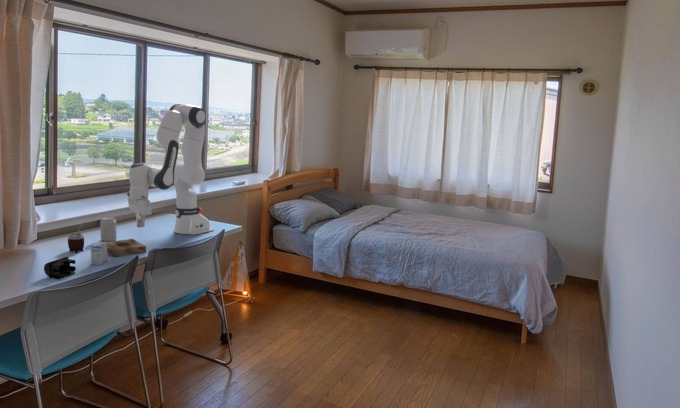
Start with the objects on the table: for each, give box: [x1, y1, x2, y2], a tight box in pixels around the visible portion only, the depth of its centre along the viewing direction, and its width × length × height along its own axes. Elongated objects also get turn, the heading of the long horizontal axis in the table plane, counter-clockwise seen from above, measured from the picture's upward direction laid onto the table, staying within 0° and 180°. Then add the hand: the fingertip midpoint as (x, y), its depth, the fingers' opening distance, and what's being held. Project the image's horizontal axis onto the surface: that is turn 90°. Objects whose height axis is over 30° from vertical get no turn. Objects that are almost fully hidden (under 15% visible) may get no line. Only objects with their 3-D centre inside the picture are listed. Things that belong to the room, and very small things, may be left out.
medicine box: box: [90, 241, 108, 266], centre depth 239 cm, size 8×4×9 cm, turn 5°
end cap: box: [43, 256, 76, 280], centre depth 220 cm, size 10×7×7 cm
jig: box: [107, 238, 147, 258], centre depth 260 cm, size 16×16×3 cm
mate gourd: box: [67, 222, 86, 254], centre depth 253 cm, size 8×8×15 cm
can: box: [99, 216, 118, 242], centre depth 274 cm, size 8×8×12 cm
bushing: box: [135, 212, 146, 228], centre depth 275 cm, size 4×4×8 cm
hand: (140, 220), depth 276 cm, fingers closed on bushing, 4 cm apart
